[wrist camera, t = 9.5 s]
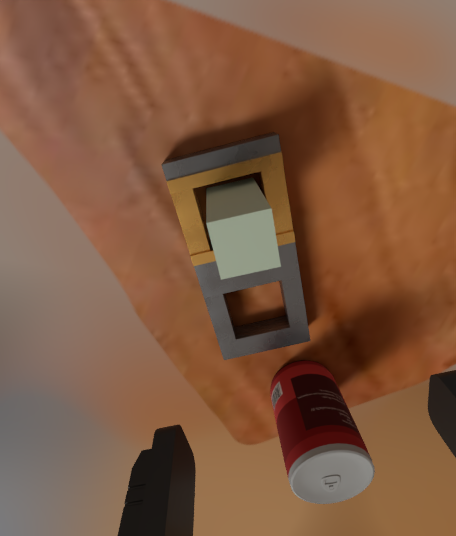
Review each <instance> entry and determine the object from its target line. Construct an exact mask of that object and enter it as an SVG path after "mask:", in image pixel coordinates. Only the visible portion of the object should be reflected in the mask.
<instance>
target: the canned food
mask: <svg viewBox="0 0 456 536" xmlns="http://www.w3.org/2000/svg"><path fill="white" fill-rule="evenodd" d="M270 394H271V400H272V405H273V410H274V414H275V419H276V424H277V429H278V433H279V438H280V443H281V448H282V452H283V457H284V462H285V467H286V470H287V475H288V479H289V482H290V485H291V488H292V491H293V492H294V494H295V495H296V496H298V497H299V498H300V499H302V500H304V501H307V502H311V503H317V504H329V503H336V502H341V501H344V500H347V499H349V498H351V497H354V496H356V495H357V494H359V493H360V492H362V491H363V490H364V489H365V488H366V487H367V486H368V485H369V484H370V482H371V481H372V479H373V477H374V472H375V471H374V465H373V463H372V459H371V457H370V455H369V453H368V451H367V448H366V446H365V444H364V442H363V439H362V437H361V435H360V433H359V431H358V429H357V426H356V424H355V422H354V420H353V418H352V416H351V414H350V412H349V409H348V407H347V405H346V403H345V401H344V399H343V396H342V394H341V392H340V390H339V388H338V386H337V384H336V381H335V379H334V377H333V375H332V374H331V373H330V372H329V371H328V370H327V369H326V368H325V367H324V366H323V365H321V364H319V363H317V362H313V361H298V362H294V363H291V364H289V365H287V366H285V367H283V368H282V369H281V370H280V371H278V372H277V374H276V375H275V376H274V378H273V380H272V384H271V390H270Z"/></svg>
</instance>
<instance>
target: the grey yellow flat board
mask: <svg viewBox="0 0 456 536" xmlns="http://www.w3.org/2000/svg"><path fill="white" fill-rule="evenodd" d="M283 166H284V164H283V157H282V152H281V147H280V141H279V134H276V133H274V132H273V133H269V134H265V135H261V136H257V137H253V138H250V139H246V140H242V141H238V142H234V143H230V144H226V145H223V146H219V147H215V148H211V149H207V150H203V151H199V152H196V153H192V154H188V155H184V156H180V157H176V158H172V159H169V160H165V161H164V162H163V163H162V168H163V171H164V174H165V177H166V180H167V181H166V182H167V185H168V188H169V191H170V194H171V196H172V199H173V202H174V205H175V208H176V212H177V215H178V218H179V221H180V224H181V227H182V230H183V233H184V236H185V240H186V243H187V246H188V249H189V252H190V257H191V260H192V263H193V266H194V268H195V271H196V274H197V277H198V280H199V283H200V286H201V290H202V293H203V296H204V299H205V302H206V305H207V308H208V311H209V314H210V318H211V321H212V324H213V327H214V330H215V333H216V336H217V339H218V343H219V346H220V349H221V352H222V355H223V358H224V360H227V359H231V358H236V357H240V356H245V355H249V354H254V353H258V352H263V351H267V350H272V349H276V348H281V347H285V346H290V345H294V344H299V343H303V342H308V341H310V335H309V329H308V322H307V316H306V309H305V303H304V297H303V290H302V284H301V277H300V271H299V264H298V258H297V251H296V245H295V235H294V231H293V225H292V219H291V212H290V206H289V199H288V193H287V186H286V180H285V173H284V167H283ZM256 172H259V177H260V182H261V187H262V193H263V195H264V197H265V198H266V200H267V202H268V203H269V205H270V206H271V208H272V214H273V220H274V227H275V233H276V239H277V245H278V252H279V258H280V264H281V267H277V268H272V269H268V270H263V271H259V272H254V273H249V274H245V275H240V276H236V277H231V278H226V279H222V280H221V278H220V274H219V270H218V266H217V262H216V259H215V255H214V251H213V247H212V243H211V242H210V240H209V236H208V233H207V229H206V226H205V222H204V219H203V215H202V212H201V208H200V205H199V201H198V198H197V194H196V191H195V188H197V187H201V186H205V185H209V184H213V183H217V182H221V181H225V180H228V179H232V178H236V177H240V176H244V175H248V174H252V173H256ZM276 281H279V282H280V288H281V293H282V298H283V303H284V309H285V314H286V316H282V317H278V318H273V319H269V320H264V321H260V322H256V323H251V324H247V325H242V326H238V327H234V324H233V321H232V317H231V314H230V310H229V307H228V303H227V300H226V296H225V293H229V292H233V291H237V290H241V289H246V288H250V287H254V286H259V285H263V284H267V283H271V282H276Z"/></svg>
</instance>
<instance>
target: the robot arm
mask: <svg viewBox="0 0 456 536" xmlns="http://www.w3.org/2000/svg"><path fill="white" fill-rule="evenodd" d="M428 412H429V416H430V419H431V421H432V423H433V425H434V427H435V428H436V430H437V431H438V433H439V434H440V436H441V437H442V439H443V440H444V442H445V443H446V444H447V446H448V447H449V449H450V450H451V452H452V453H453V455H454V456H455V457H456V370H454V371H449V372H444V373H439V374H434V375H431V377H430V383H429V397H428ZM194 497H195V461H194V456H193V452H192V450H191V448H190V445H189V443H188V441H187V439H186V436H185V434H184V432H183V430H182V427H181V426H180V425H174V426H169V427H164V428H159V429H157V430H156V431H155V434H154V439H153V445H152V449H149V450H143V451H141V453H140V455H139V457H138V459H137V460H136V462H135V464H134V466H133V468H132V471H131V476H130V481H129V485H128V491H127V495H126V499H125V507H124V509H123V513H122V518H121V523H120V528H119V532H118V536H193V521H194Z"/></svg>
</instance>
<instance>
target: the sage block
mask: <svg viewBox="0 0 456 536" xmlns="http://www.w3.org/2000/svg"><path fill="white" fill-rule="evenodd" d="M206 224H207V228H208V232H209V236H210V239H211V243H212V247H213V251H214V255H215V259H216V262H217V266H218V270H219V274H220V278H221V280H222V279H226V278H231V277H236V276H240V275H245V274H249V273H254V272H259V271H263V270H268V269H272V268H277V267H281V264H280V258H279V252H278V245H277V239H276V233H275V227H274V220H273V214H272V208H271V206H270V205H269V203H268V202H267V200H266V198H265V197H264V195H263V193H262V192H261V190H260V188H259V187H258V185H257V183H256V182H255V180H254V178H253V177H252V178H248V179H244V180H239V181H235V182H231V183H226V184H222V185H218V186H213V187H209V188H206Z"/></svg>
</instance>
